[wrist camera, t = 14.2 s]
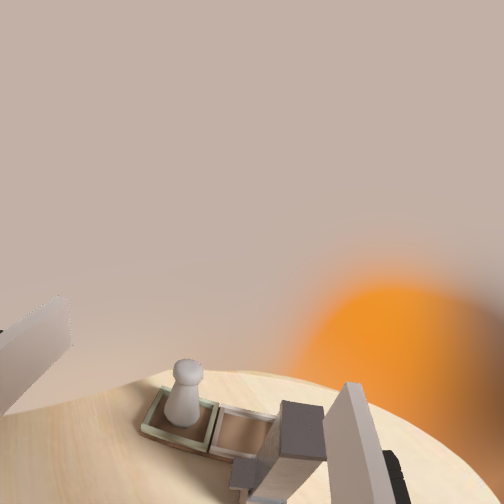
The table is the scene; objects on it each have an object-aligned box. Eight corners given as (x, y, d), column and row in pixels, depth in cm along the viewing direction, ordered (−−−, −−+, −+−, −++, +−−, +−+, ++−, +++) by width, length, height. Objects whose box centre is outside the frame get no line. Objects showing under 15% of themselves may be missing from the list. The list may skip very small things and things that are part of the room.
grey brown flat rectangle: (276, 423, 45) (280, 415, 44) (274, 470, 34) (279, 463, 34) (160, 392, 45) (161, 384, 45) (139, 434, 35) (138, 426, 34)
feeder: (274, 477, 33) (323, 404, 28) (272, 518, 25) (331, 459, 20) (226, 469, 33) (259, 393, 28) (218, 510, 25) (252, 450, 20)
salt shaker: (158, 409, 40) (162, 354, 37) (189, 404, 44) (199, 350, 40) (171, 436, 36) (177, 382, 32) (203, 428, 39) (217, 376, 36)
